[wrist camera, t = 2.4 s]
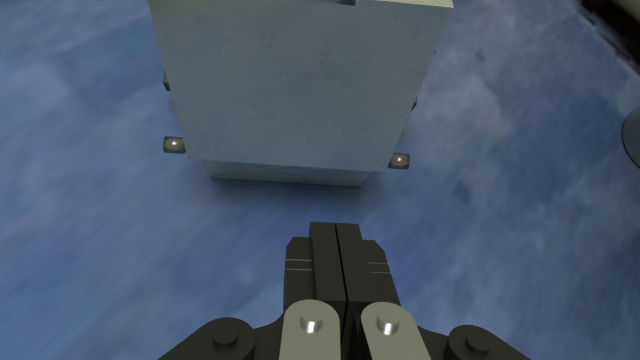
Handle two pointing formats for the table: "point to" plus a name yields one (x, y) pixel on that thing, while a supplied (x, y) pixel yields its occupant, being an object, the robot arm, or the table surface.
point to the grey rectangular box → (282, 167)
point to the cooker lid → (296, 76)
